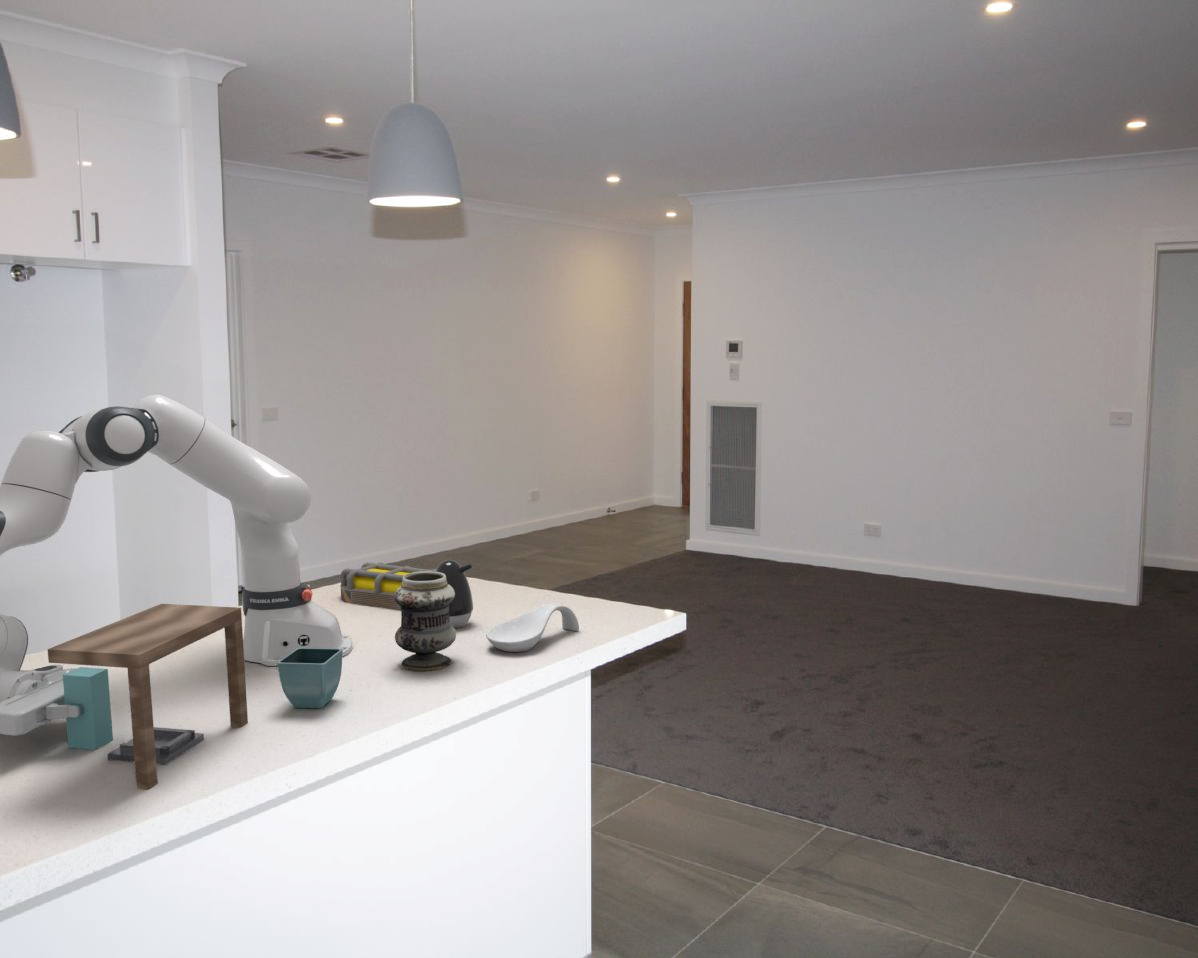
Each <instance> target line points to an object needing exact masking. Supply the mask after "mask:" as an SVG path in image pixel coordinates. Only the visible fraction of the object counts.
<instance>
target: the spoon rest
mask: <svg viewBox="0 0 1198 958" xmlns="http://www.w3.org/2000/svg"><path fill="white" fill-rule="evenodd" d="M556 611H559V612H560V614H561V622H562V623H561V624H562V625H561V626H562V628H563V629H565V630H568V631H572V632H578V631H580V626H579V622H578V621H579V620H578V619H577V618H578V617H577V615H576V614H575V613H574V611H573V610H572V608H570V607H568V606H566V605H560V604H558V603H557V604H556V603H552V602H551V603H550V602H549V603H548V602H547V603H544V604H541V605H540V606H538V607H535V608H533V609H531V610H529V611H528V612H527V611H526V612H525V613H523V614H521V615H519V616H517V617H514V618H511V619H510V620H506V621H505V622H503V623H500V624H498V625H495V626H493V627H491V628H490V629H489V630H488V631H486V634H485V636H486V639H487V641H488V642H489V643H490V644H491V645H492V646H494V647H495V648H496V649H499V650H500V651H504V652H507V653H519V652H520V653H521V652H526V651H529V650H530V649H532V648H533V646H535V645H536V644H537V643H538V642H539V641H540V640H541V638H542V635H543V634H544V631H545V629H546V627H547V624H548V622H549V620H550V618H551V616H552V614H553V613H554V612H556Z"/></svg>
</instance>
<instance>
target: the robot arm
mask: <svg viewBox="0 0 1198 958" xmlns="http://www.w3.org/2000/svg"><path fill="white" fill-rule="evenodd" d="M147 453H150V454H152V455H155V456H156V457H158V458H159V459H161V460H162V461H164V462H166V463H167V464H168V465H170V466H171V467H173V468H175V469H176V470H178V471H179V472H181V473H183V474H184V475H186V476H188V477H189V478H190V479H192V480H193V481H195V482H196V483H199V484H200V485H202V486H203V487H205V488H207V489H209V490H210V491H213V492H214V493H216V494H217V495H220V496H222V497H223V498H225V499H227V500H228V501H229V502H230V505H231V508H232V512H233V517H234V522H235V523H234V524H235V527H236V531H237V535H238V537H239V543H240V547H241V548H240V549H241V556H242V570H243V583H244V584H243V588H242V590H241V591H242V593H241V603H242V612H243V615H244V629H243V648H244V661H247V662H251V663H259V664H262V665H265V666H267V667H273V666H274V667H276V666H277V662H278V661H280V660H281V659H283V658H284V657H286V656H287V655H288V654H290V653H291V652H292V651H294V650H295V649H297V648H333V649H334V648H335V649H343V653H342V657H344V656H347V655H348V654H349V653H351V651H352V649H353V646H354V645H353V640H352V637H350V636H349V635H346V634H344V633H342V630H341V629H342V628H341V626H340V622H339V620H338V618H337V617H336V615H335V614H333V613H332V612H330V611H329V610H327V609H326V608H324V607H322V606H321V605H319V604H317V603H316V602H315V601H313V600H312V599H313V598H312V597H313V591H312V588H311V586H310V584H305V583H303V582H301V565H300V550H299V549H300V548H299V544H298V542H297V540H296V538H295V536H294V533H293V531H292V527H291V523H293V522H296V521H298V520H299V519H301V518H302V517H303V516H305V514H306V513H307V511H308V510H309V507H310V505H311V499H312V496H311V492H310V489H309V486H308V484H307V483H306V481H304V480H303V479H302V478H301V477H300V476H299V475H297V474H296V473H294V472H293V471H291V470H289V469H288V468H286V467H284V466H283V465H282V464H280V463H279V462H276V461H275V460H273V459H272V458H270V457H268V456H267V455H264V454H263V453H262V452H259V451H257V450H256V449H254V448H253V447H251V446H249V445H248V444H246V443H244V442H242V441H240V440H239V439H237V438H236V437H234V436H233V435H231V434H229V433H228V432H226V430H224V429H222V428H221V427H219V426H217V425H216V424H215V423H213V422H212V421H210V420H209V419H207V418H206V417H204V416H202V415H201V414H200V413H198V412H196V411H195V410H193V409H191V408H190V407H188V406H186V405H184V404H182V403H181V402H178V401H177V400H174V399H172V398H169V397H168V396H165V395H162V394H155V393H154V394H150V395H146V396H144V397H143V398H142V399H140V400H138V401H137V402H136V403H135V405H134V406H133V407H128V406H109V407H105V408H99V409H94V410H92V411H89V412H86V413H85V414H82V415H81V416H78V417H76V418H74V419H73V420H71V421H70V422H69V423H67V424H66V425H65V426H64V427H63V428H62V429H61V430H60V431H53V430H48V429H47V430H42V429H41V430H34V431H31V432H28V433H27V434H25V435H24V437H23V438H22V439H21V440H20V442H19V444H18V446H17V447H16V449H15V451H14V453H13V455H12V456H11V458H10V460H9V462H8V465H7V467H6V470H5V472H4V475H3V478H2V480H1V482H0V557H1V556H2V555H3V554H5V553H6V552H8V551H10V550H12V549H15V548H19V547H25V546H30V545H35V544H38V543H41V542H44V541H46V540H48V539H49V538H50V539H51V537H54V535H55V534H57V533H58V532H59V531H60V529H61V528H62V526H63V525H64V523H65V520H66V518H67V515H68V512H69V509H70V505H71V502H72V498H73V495H74V491H75V489H76V488H75V487H76V484H77V483H78V481H79V479H80V477H81V476H82V475H83V474H84V473H95V472H104V471H105V472H106V471H113V470H117V469H119V468H122V467H126V466H130V465H131V464H133V463H135V462H137V461H138V460H140V459H141V458H143V456H144V455H145V454H147ZM28 646H29V634H28V630H27V629H26V627H25V625H24V623H23V622H22V621H21V620H20V619H18V618H17V617H15V616H9V615H4V614H1V613H0V735H6V736H13V737H17V736H21V735H26V734H27V733H30V732H31V731H33V730H35V729H37V728H38V729H39V728H40V727H41V726H44V725H45V724H48V723H49V722H51V721H55V720H60V719H66V717H74V718H76V717H78V716H80V715H82V714H83V713H84V710H83V708H84V706H83V704H78V703H73V704H70V705H65V698H64V686H63V675H64V674H66V673H68V672H70V671H73V670H75V669H77V668H76V667H75V668H64V667H63V664H62V665H61V664H51V665H47V666H43V667H38V668H35V669H25V670H24V669H22V665H23V663H24V660H25V657H26V654H27V651H28V648H29V647H28ZM21 669H22V670H21Z"/></svg>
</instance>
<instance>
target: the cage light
mask: <svg viewBox="0 0 1198 958" xmlns="http://www.w3.org/2000/svg"><path fill="white" fill-rule="evenodd" d="M436 569H437V568H433V569H426V568H418V567H417V568H416V567H411V566H410V565H405V566H401V565H394V564H393V565H392V564H385V563H383V562H377V563H375V562H365V563H362V565H361V566H360V568H344V569H343V570H342V571H341V573H340V599H341V601H343V602H344V603H348V604H353V605H359V606H360V605H361V606H367V607H374V608H381V609H389V610H394V611H401V606H400V605H398V604H397V603H396V601H395V598H394V595H395V592H396V590H397V589H398V588H399V587H400V586H401V585H402V581H403V576H404V575H406V574H409V573H413V572H419V571H434V572H435V571H436Z"/></svg>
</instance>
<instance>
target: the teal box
mask: <svg viewBox="0 0 1198 958" xmlns="http://www.w3.org/2000/svg"><path fill="white" fill-rule="evenodd" d="M109 682H110V680H109V670H108V668H99V667H85V666H80V667H77V668H76V669H75V670H73V671H70V672H68V673H66V674H64V675H63V686H64V698H65V705H70V704H73V703H78V704H83V706H84V708H83V710H84V713H83V714H82V715H80V716H78V717H76V718H74V717H66V718H65V720H66V732H67V743H68V746H67V747H68V748H69V749H71V748H73V749H80V750H81V749H82V750H91V751H92V750H93V751H96V750H98V749H100V748H102V747H104V746H105V745H107V744H109V743H111V742H112V741H114V735H113V721H112V709H111V695H110V693H111V692H110V683H109Z"/></svg>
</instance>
